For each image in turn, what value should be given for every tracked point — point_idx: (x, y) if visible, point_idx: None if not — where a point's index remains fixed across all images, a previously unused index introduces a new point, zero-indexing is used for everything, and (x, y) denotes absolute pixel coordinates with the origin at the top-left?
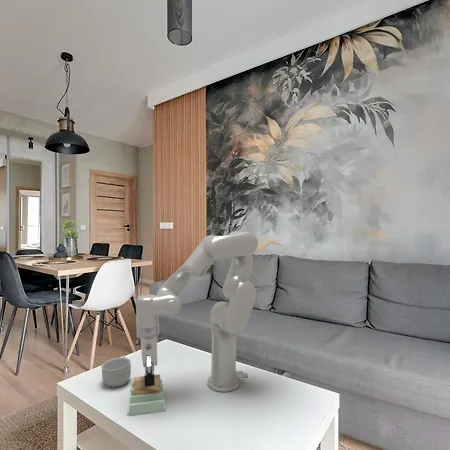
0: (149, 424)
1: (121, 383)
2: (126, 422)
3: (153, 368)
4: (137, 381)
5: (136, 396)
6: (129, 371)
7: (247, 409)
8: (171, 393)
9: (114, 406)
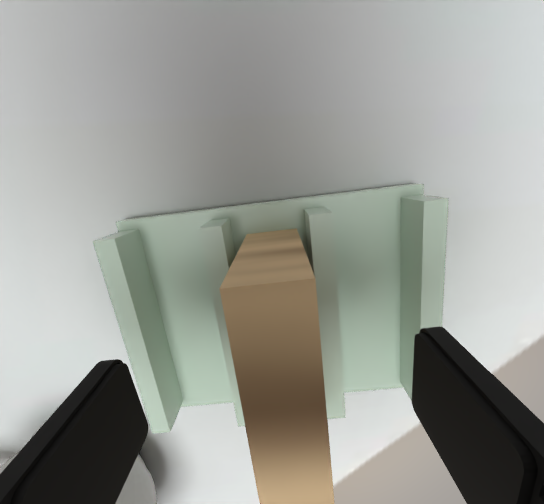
0: (518, 262)
1: (138, 462)
2: None
3: (103, 392)
4: (330, 476)
5: (339, 385)
6: None
7: None
8: (211, 153)
9: None
